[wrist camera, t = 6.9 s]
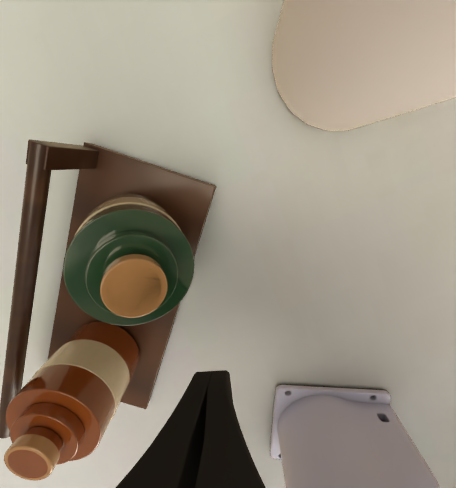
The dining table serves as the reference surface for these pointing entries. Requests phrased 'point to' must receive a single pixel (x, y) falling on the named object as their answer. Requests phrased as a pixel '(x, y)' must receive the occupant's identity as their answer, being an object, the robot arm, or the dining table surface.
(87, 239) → the green bottle
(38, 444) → the amber bottle
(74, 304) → the rack
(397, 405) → the dining table surface
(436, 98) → the cream white bottle
